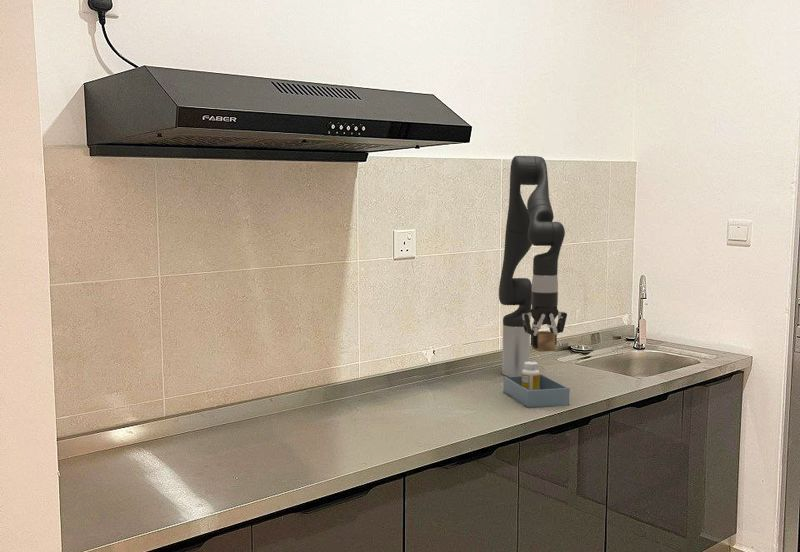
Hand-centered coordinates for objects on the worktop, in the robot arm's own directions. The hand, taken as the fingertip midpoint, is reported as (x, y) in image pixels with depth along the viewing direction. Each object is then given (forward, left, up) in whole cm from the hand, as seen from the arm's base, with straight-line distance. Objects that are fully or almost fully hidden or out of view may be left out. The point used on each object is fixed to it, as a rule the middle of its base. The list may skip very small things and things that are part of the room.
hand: (543, 347), depth 226 cm
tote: (-5, 0, -17) cm, 18 cm away
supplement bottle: (-9, 0, -16) cm, 19 cm away
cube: (0, 0, -1) cm, 1 cm away
